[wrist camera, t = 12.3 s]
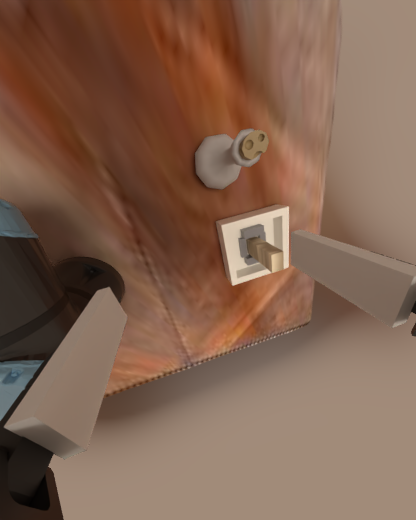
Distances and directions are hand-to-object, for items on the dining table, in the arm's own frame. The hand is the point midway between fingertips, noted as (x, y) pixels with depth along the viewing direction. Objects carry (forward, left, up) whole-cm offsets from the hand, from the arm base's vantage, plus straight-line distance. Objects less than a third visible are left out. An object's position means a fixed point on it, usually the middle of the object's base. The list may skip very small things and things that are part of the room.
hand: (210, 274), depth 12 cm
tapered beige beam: (+15, -11, -26) cm, 32 cm away
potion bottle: (+9, +8, -27) cm, 29 cm away
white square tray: (+15, -11, -27) cm, 33 cm away
